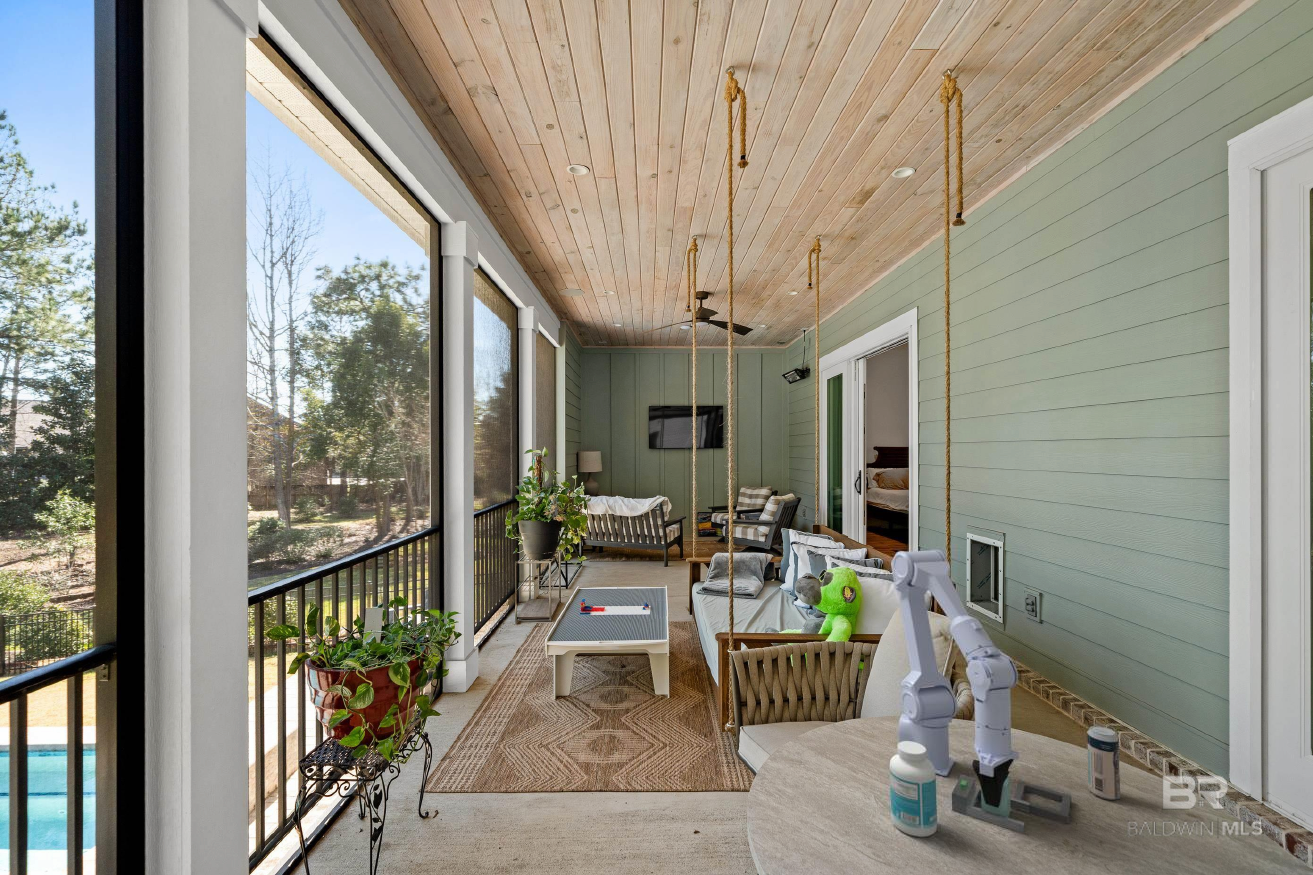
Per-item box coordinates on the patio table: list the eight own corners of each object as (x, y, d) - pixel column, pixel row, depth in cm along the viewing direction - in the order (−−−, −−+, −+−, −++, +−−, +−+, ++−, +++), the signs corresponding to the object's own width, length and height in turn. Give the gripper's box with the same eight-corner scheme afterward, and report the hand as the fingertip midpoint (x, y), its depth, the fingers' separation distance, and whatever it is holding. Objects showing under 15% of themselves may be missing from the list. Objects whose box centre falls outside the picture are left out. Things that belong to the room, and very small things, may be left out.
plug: (981, 812, 107) (980, 774, 107) (985, 802, 110) (984, 765, 110) (1007, 821, 104) (1006, 781, 104) (1010, 810, 107) (1009, 772, 107)
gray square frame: (1012, 806, 109) (1012, 799, 109) (1018, 786, 115) (1018, 780, 115) (1067, 823, 103) (1067, 816, 103) (1071, 801, 110) (1071, 795, 110)
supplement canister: (1125, 802, 110) (1124, 737, 110) (1096, 800, 110) (1095, 734, 111) (1111, 788, 114) (1109, 725, 115) (1083, 785, 115) (1082, 723, 116)
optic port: (952, 809, 108) (951, 789, 108) (961, 789, 114) (961, 770, 114) (1024, 833, 101) (1023, 812, 101) (1029, 811, 107) (1029, 791, 107)
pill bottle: (925, 812, 107) (924, 736, 107) (945, 839, 100) (943, 757, 100) (884, 812, 107) (882, 736, 107) (900, 839, 100) (899, 757, 100)
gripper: (1012, 745, 99) (1014, 827, 99) (1023, 714, 111) (1025, 788, 110) (965, 732, 104) (967, 811, 103) (981, 705, 115) (982, 775, 115)
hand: (994, 798), depth 107 cm, fingers closed on plug, 4 cm apart
